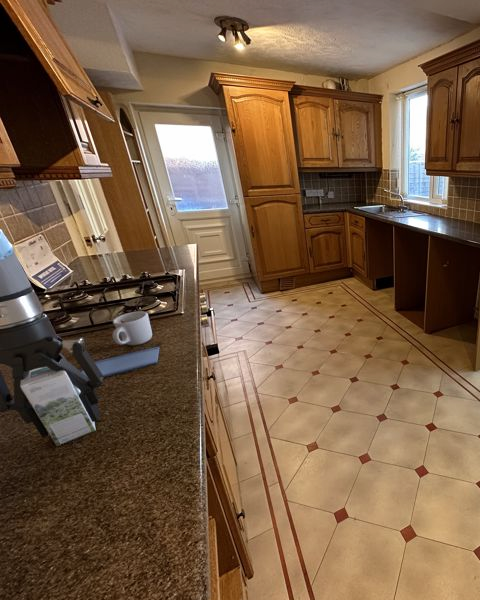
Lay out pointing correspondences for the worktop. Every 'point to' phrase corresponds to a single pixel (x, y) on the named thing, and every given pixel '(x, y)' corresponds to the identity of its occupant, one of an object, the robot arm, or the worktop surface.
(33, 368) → the robot arm
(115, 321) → the cup
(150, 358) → the cloth
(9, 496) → the worktop surface
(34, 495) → the worktop surface
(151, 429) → the worktop surface
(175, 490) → the worktop surface
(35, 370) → the syrup box
